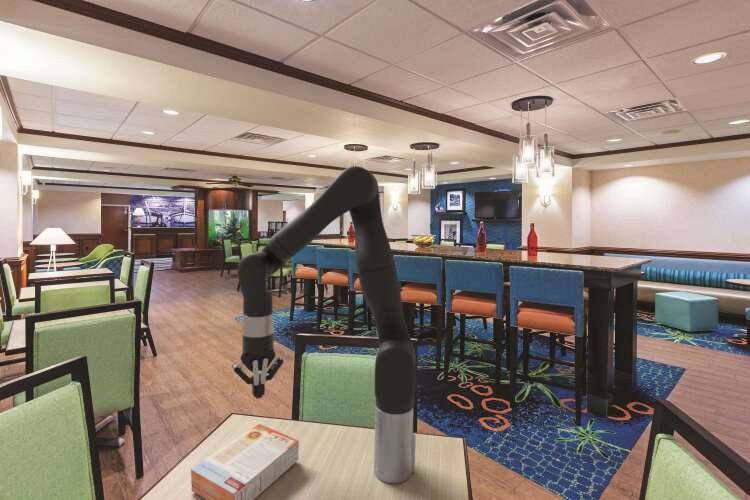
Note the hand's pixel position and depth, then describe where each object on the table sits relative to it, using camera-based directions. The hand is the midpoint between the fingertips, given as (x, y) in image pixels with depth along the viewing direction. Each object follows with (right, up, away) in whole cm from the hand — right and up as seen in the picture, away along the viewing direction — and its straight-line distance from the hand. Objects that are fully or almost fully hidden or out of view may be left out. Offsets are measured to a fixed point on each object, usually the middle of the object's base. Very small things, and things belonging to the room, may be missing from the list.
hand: (258, 397), depth 99 cm
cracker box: (+5, -13, +3) cm, 14 cm away
